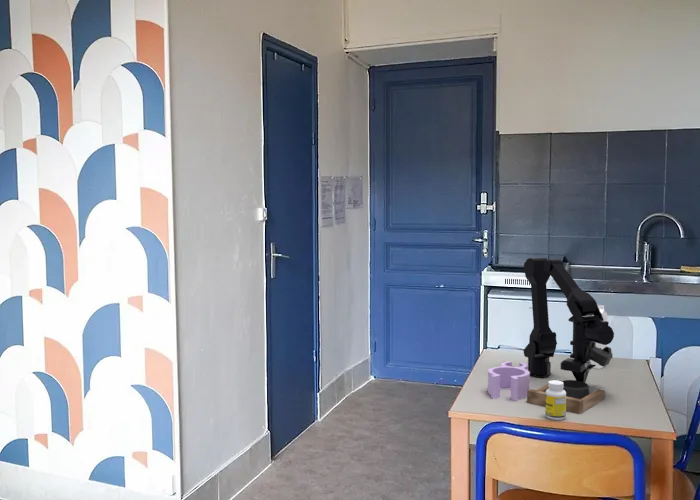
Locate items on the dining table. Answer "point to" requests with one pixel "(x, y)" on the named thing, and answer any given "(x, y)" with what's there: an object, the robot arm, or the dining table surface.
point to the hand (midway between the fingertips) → (581, 388)
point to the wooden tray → (567, 399)
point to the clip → (509, 380)
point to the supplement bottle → (555, 400)
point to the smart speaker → (576, 389)
